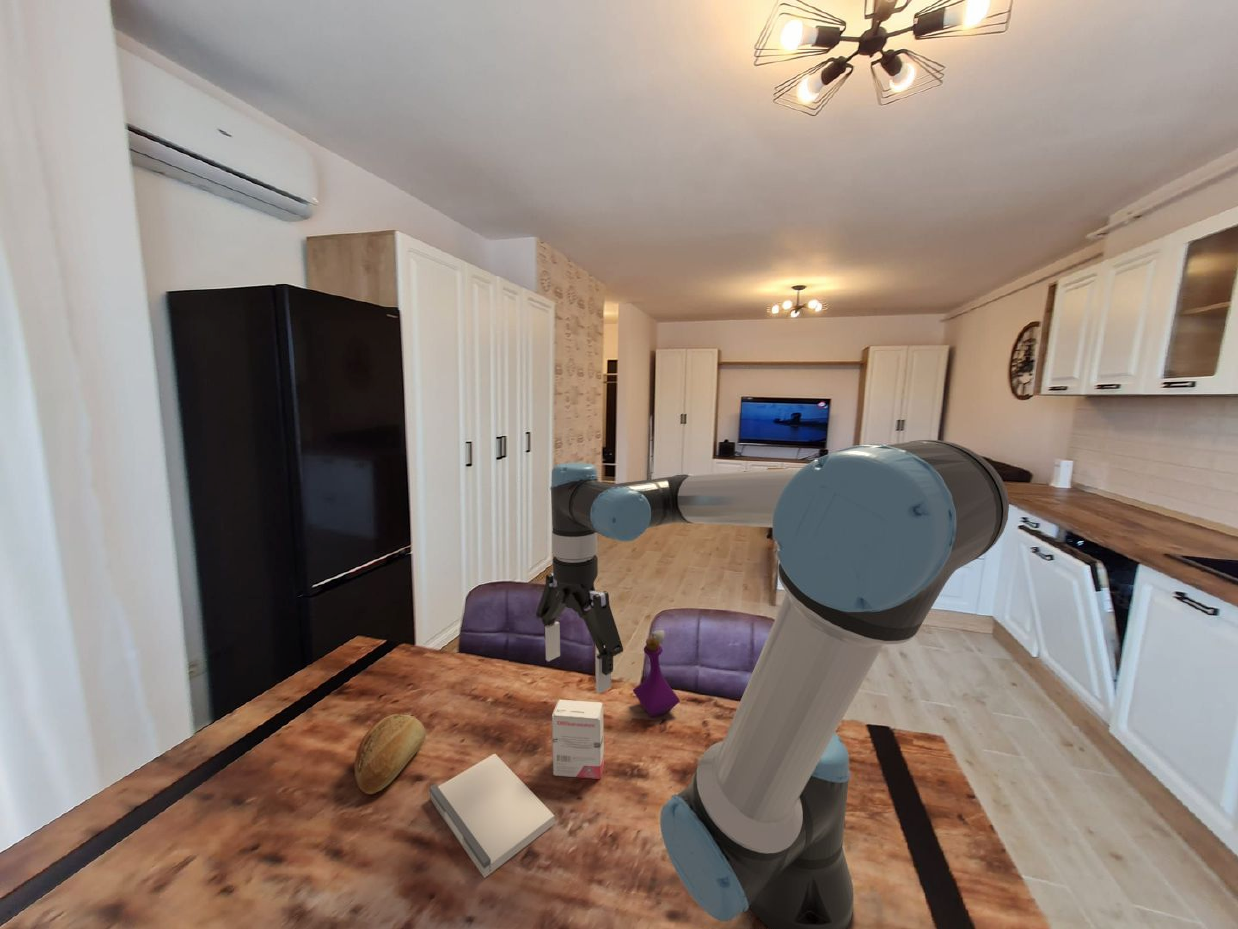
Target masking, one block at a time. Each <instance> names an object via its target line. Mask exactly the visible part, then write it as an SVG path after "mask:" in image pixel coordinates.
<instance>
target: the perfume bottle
mask: <svg viewBox="0 0 1238 929" xmlns="http://www.w3.org/2000/svg"><path fill="white" fill-rule="evenodd" d="M650 635H651V637H647V639H646V641H645V644H646V645H645V646H644V647H643V654H645V655H647V657H648V658H649V662H650V666H649V667H650V669H649V673H648V675H647V677H646V678H645V680H643V681H642V682H641V683H640V684H638V686H635V687H634V688H633V690H632V692H633V693H634V695H635V696H636V698H637V700H638V701H639V703H640V705H641V706H642V707H643V709H644V710H645V711H646V712H647V713H648V715H649V716H650V718H656V717H658V716H662V715H665V714H668V713H670V712H671V711H672V710H673V708H674V707H676V706H677V704H679V703H680V701H681V700H680V698H679V697H678V695H677V694H676V693H675V691H674V690H673V688H671V686H670V684H669V683H668V682H667V680H666V679H665V678H664V674H663V672H662V670H661V666H660V661H659V660H660V658H659V656H660V655H662V653H663V647H662V646H661V645H663V644H664V642H665V638H666V636H665V635H666V633H665V630H663V629H662V630H654V631H652V632H650Z"/></svg>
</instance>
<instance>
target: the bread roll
mask: <svg viewBox="0 0 1238 929" xmlns="http://www.w3.org/2000/svg"><path fill="white" fill-rule="evenodd" d="M424 726H425V725H424V724H423V722H421V721H420V719H417V718H416V717H414V716H412V715H409V714H401V713H396V714H394V713H393V714H390V715H388V716H386V717H384V718H382V719H380V720H379V721H378V722H376V723H375V724H373V726H372V727H371V728H370V729H368V731H367V732H366V733H365V734H364V736H362V737H363V738H362V739H361V742H360V743H359V746H358V748H357V750H356V754H355V758H354V759H355V760H354V776H355V780H356V783H357V786H358V787H359V789H360V790H361V791H362V792H363V793H364V794H367V795H374V794H376V793H378V792H380V791H382V790H383V789H384V788H386V787H387V786H389V785H390V784H391V783H392V782H393V781H394V779H396V777H398V775H399V774H400V773H401V771H402V770H403V769H404V768H406V766H407V765H408V763H409V762H410V760H411V759H412V758H413V757H414V756H415V755H416V753H417V752H418V751H419V750H420V749H422V746H423V744H424V743H425V742H426V737H427V730H426V728H425V727H424Z"/></svg>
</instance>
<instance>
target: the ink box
mask: <svg viewBox="0 0 1238 929" xmlns="http://www.w3.org/2000/svg"><path fill="white" fill-rule="evenodd" d="M555 704H556V705H555V707H554V709H553V712H552V715H551V730H552V731H551V732H552V733H551V735H552V736H551V739H552V740H551V743H552V744H551V745H552V773H553V776H558V777H569V778H570V777H571V778H581V779H595V780H600V779H602V775H603V771H604V765H605V763H604V762H605V756H604V755H605V753H604V752H605V751H604V749H605V748H604V742H605V741H604V703H603V702H601V701H600V702H597V701H583V700H571V699H570V700H569V699H560V698H559V699H558V700H557V702H556V703H555Z"/></svg>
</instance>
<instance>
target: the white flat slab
mask: <svg viewBox="0 0 1238 929" xmlns="http://www.w3.org/2000/svg"><path fill="white" fill-rule="evenodd" d="M429 799H430V801H431V802H432V804H433V805H434V807H435V808H436V810H437V811H438V813H439V815H440V816H441V817H442V819H443V820H444V823H446V824H447V825H446V826H448V828H449V829H450V830H451V832H452V833H453V834H454V836H455V838H456V839H457V840H458V842H459V843H460V845H461V847H462V848H463V850H464V851H465V852H466V854H467V855H468V856H469V858H470V859H471V861H472V862H473V863H474V866H476V868H477V870H478V871H479V873H480V875H481V876H482V877H483V878H484V879H486V878H487V877H489V875H491V874H492V873H493V872H495V871H496V870H497V869H498V868H499V867H501V866H502V865H503V864H505V863H506V862H507V861H509V860H510V859H511V858H513V857H514V856H516V855H517V854H518V853H519V852H521V851H522V850H523V849H525V848H526V847H527V846H528V845H529V844H531V843H532V842H533V841H534V840H536V839H537V838H538V837H540V836H541V835H542V834H543V833H545V832H546V831H547V830H549V829H550V828H552V827H553V826H554V825H555V814H553V812H552V811H551V810H550V809H549V808H548V807H547V806H546V805H545V804H544V803H543V802H542V801H541V800H540V799H539V798H538V797H537V796H536V795H535V794H534V792H533V791H531V790H530V788H529V787H528V786H527V785H526V784H525V783H524V782H523V781H522V780H521V779H520V778H519V776H517V775H516V773H514V772H513V771H512V769H511V768H510V767H508V766H507V765H506V763H505V762H504V761H503V760H502V759H501V758H500V757H499V756H498V755H497V754H496V753H493V754H491V755H489V756H488V757H486V758H484V759H483V760H481V761H480V762H477V763H476V764H474V765H472V766H471V767H469V768H467V769H466V770H464V771H462V772H460V773H458V774H457V775H455V776H454V777H452V778H451V779H448V780H446V781H445V782H443V783H441V784H439V785H437V784H436V783H434V784H432V785H431V786H429Z"/></svg>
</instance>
